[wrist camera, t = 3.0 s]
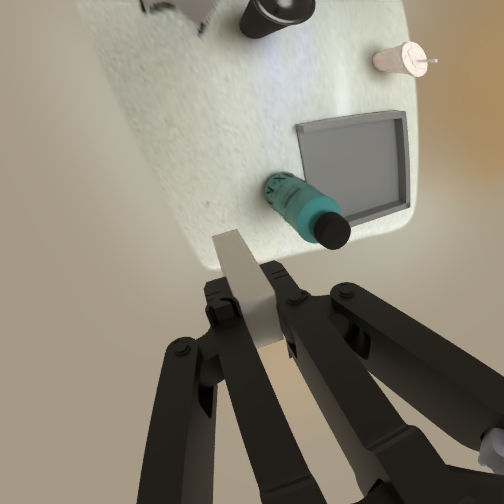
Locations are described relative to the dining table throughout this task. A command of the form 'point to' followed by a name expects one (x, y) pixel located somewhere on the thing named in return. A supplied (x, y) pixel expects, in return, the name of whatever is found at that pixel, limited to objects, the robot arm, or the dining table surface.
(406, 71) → the smoothie
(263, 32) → the drinking cup
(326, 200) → the beverage bottle
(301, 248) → the dining table surface
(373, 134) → the charcoal tray
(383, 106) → the dining table surface
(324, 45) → the dining table surface
